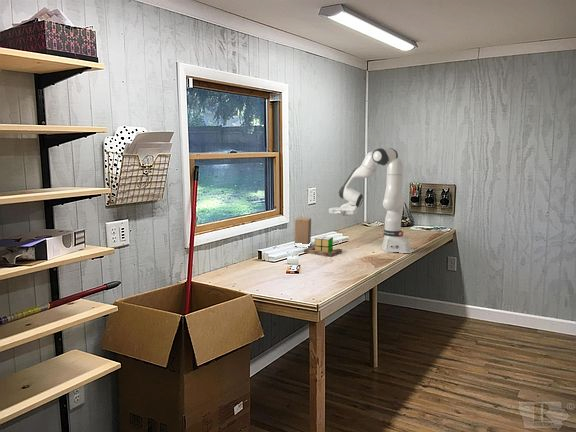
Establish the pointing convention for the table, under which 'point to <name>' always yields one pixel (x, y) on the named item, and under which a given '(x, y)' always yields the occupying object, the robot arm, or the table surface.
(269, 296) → the table surface
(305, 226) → the wooden block
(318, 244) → the puzzle cube
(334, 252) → the walnut bay
